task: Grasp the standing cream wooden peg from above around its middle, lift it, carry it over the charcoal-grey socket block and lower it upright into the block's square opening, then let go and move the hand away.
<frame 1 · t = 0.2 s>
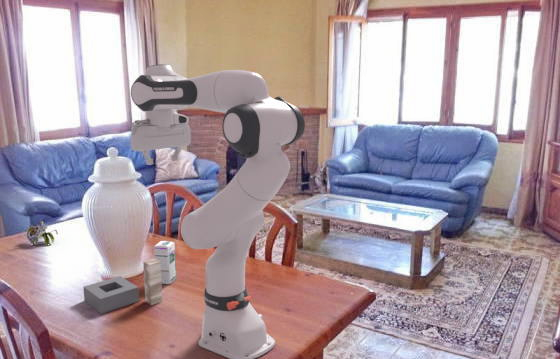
hand: (162, 162, 155), 47 cm above the table, tool pointing down, fingers open, 8 cm apart
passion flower: (41, 243, 222), on the table
cream peg: (153, 301, 164), on the table
syrup box: (166, 281, 181), on the table
socket block: (111, 300, 164), on the table
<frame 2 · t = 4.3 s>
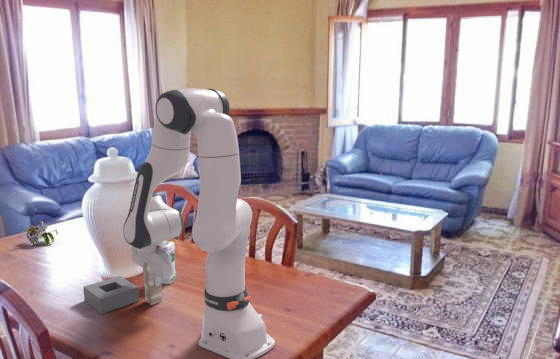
hand: (152, 282, 163), 7 cm above the table, tool pointing down, fingers closed on cream peg, 4 cm apart
cream peg: (153, 301, 164), on the table, touching gripper
everything else where it was.
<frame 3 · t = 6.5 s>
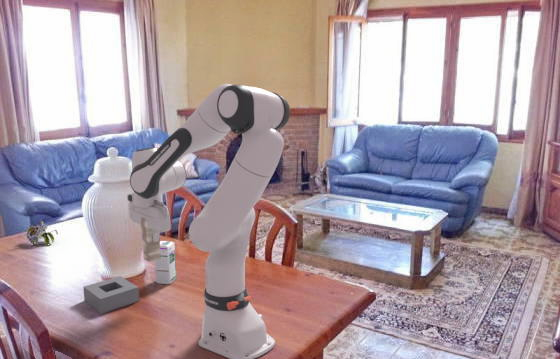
hand: (151, 239, 160), 22 cm above the table, tool pointing down, fingers closed on cream peg, 4 cm apart
cream peg: (152, 258, 161), point 15 cm above the table, touching gripper
everything else where it was.
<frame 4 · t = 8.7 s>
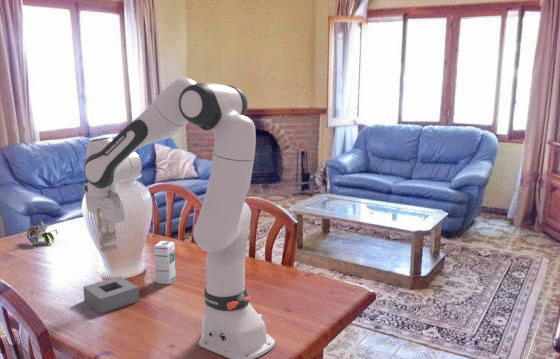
hand: (106, 230, 159), 25 cm above the table, tool pointing down, fingers closed on cream peg, 4 cm apart
cream peg: (108, 249, 161), point 18 cm above the table, touching gripper
everything else where it was.
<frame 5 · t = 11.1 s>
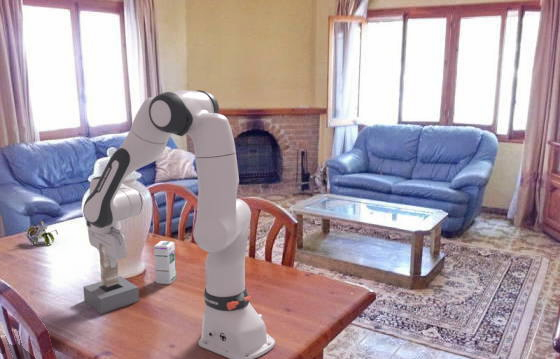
hand: (108, 264, 162), 13 cm above the table, tool pointing down, fingers closed on cream peg, 4 cm apart
cream peg: (110, 283, 163), point 6 cm above the table, touching gripper
everything else where it was.
when the fingers open (8 cm above the table, at t = 13.2 s): cream peg drops 1 cm, resting on socket block.
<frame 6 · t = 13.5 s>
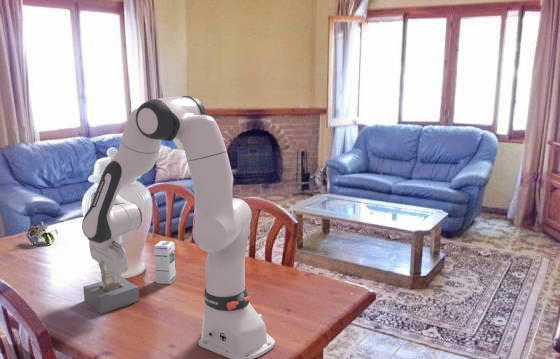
hand: (110, 278, 163), 8 cm above the table, tool pointing down, fingers open, 7 cm apart
cream peg: (111, 299, 164), resting on socket block
everything else where it was.
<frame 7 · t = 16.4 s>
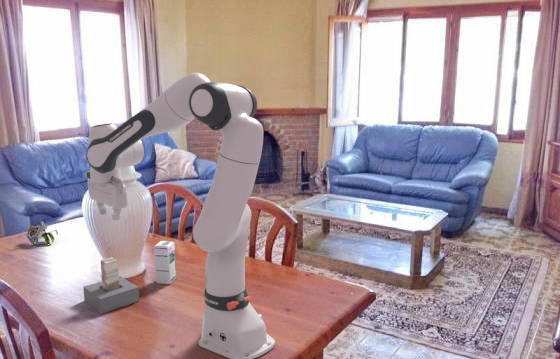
hand: (109, 217, 159), 29 cm above the table, tool pointing down, fingers open, 8 cm apart
nothing on the table moved.
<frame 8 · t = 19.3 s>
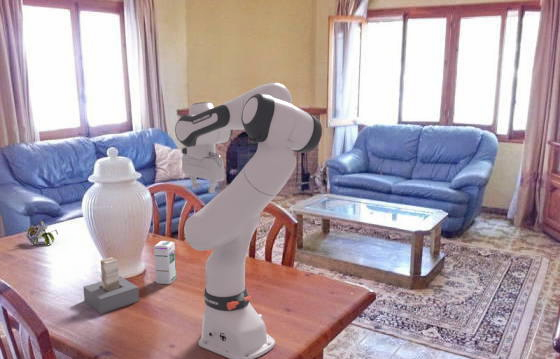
hand: (203, 190, 169), 35 cm above the table, tool pointing down, fingers open, 8 cm apart
nothing on the table moved.
at the end: cream peg 0.1 cm off-centre on the socket block, point 0.4 cm above the socket block's base; cream peg tilted 0°; the gripper is holding nothing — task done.
